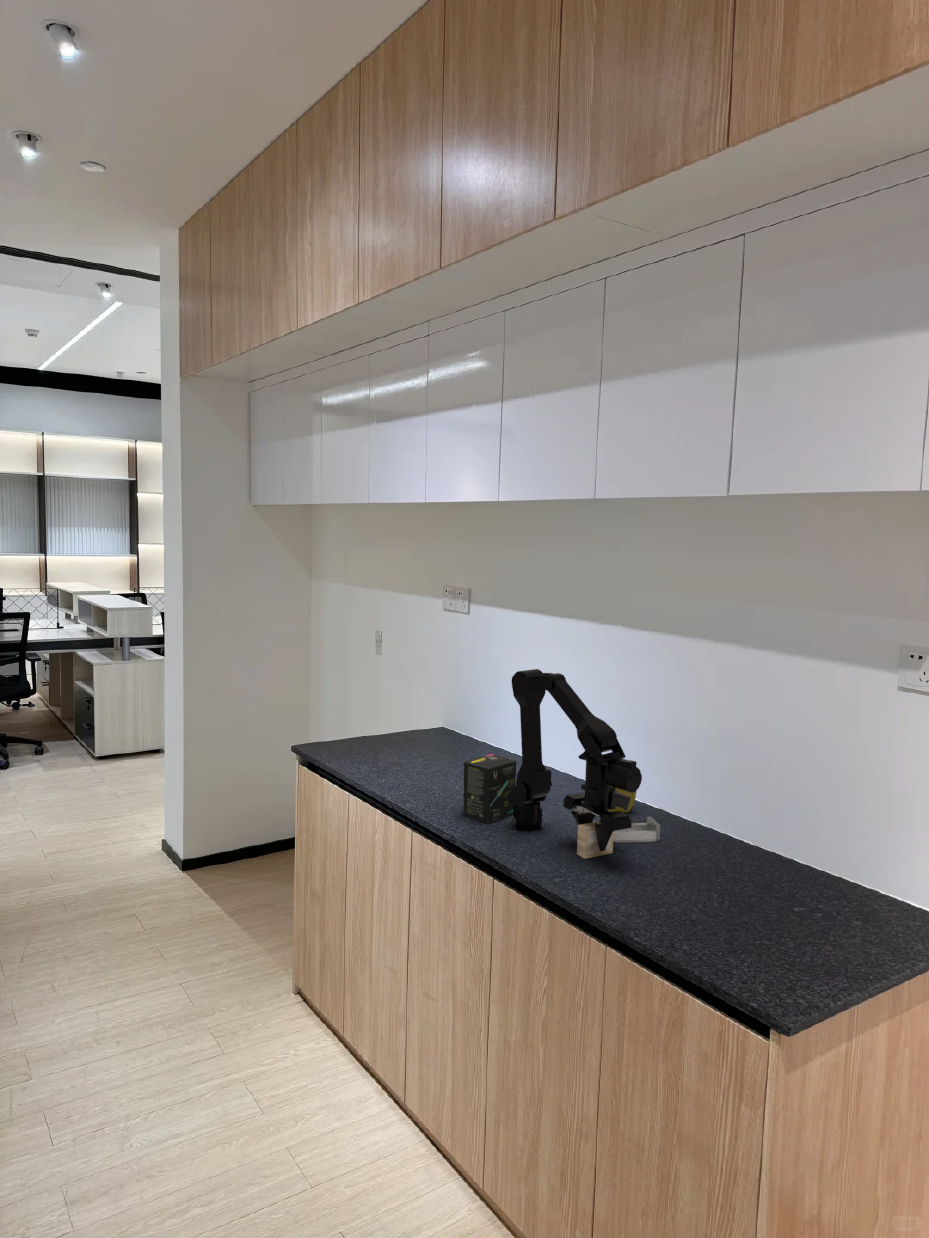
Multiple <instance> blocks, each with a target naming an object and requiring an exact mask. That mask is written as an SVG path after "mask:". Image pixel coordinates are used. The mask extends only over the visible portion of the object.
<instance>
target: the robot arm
mask: <svg viewBox="0 0 929 1238" xmlns="http://www.w3.org/2000/svg"><path fill="white" fill-rule="evenodd" d="M511 689H512V692H513V693H512V694H513V697H514V700H516V702H517V704H518V706H519V715H520V736H521V737H520V738H521V739H520V740H521V761H522V762H521V764H520V767H519V770H518V772H517V773H516V786H515V788H514V789H513V790H511V791H510V792H509V793H508V795H507V796H508V801H509V803H511V804H513V805H514V809H513V815H512V816H513V818H512V819H511V823H512V826H513V827H514V829H515V830H516V831H531V830H533V831H534V830H536V831H537V830H542V824H543V808H542V807H541V804H542V803H541V802H545V801H546V800H547V797H548V795H549V793H550V792H551V787H553V782H552V770H551V769H547V768H546V766H545V765H544V764H543V751H542V749H543V748H542V747H543V745H542V724H541V721H542V720H541V704H542V702H543V699H544V698H545V695H546V691H547V692H548V693H549V694H550V696H551V697H552V698H553V700H554V701H555V702H556V703H557V705H558V706H559V708H560V709H561V710H562V712H564V714H565V715H566V716H567V718H568V719H569V720H570V721H571V723H572V724H573V726H574V727H575V729H576V735H577V736H576V737H577V739H578V741H579V742H580V744H581V746H582V748H583V750H584V751H583V752H582V753H581V754H580V755H579V754H578V759H579V760H583V761H585V780H584V782H585V783H582V784H581V787H580V789H581V790H583V791H584V793H583V792H577V793H570V794H567V795H565V797H564V798H563V804H562V806H563V808H565V809H567V810H568V811H569V810H570V811H571V812H570V813H571V815H572V816H573V818H574V819H575V822H576V824H577V826H578V825H581V824H586V823H592V822H593V819H594V820H595V818H596V816H597V817H598V818H600V820H599V821H600V824H595V830H596V835H597V840H598V845H599V849H600V851H601V852H602V851H605V849H606V846H607V844H608V842H609V839H610V837H611V835H612V833H613V831H617V830H622V829H627V828H631V827H632V823H633V818H632V817H631V816H630V815H629V814H627V813H625V812H621V811H615V812H609V811H608V810H609V809H611V810H613V809H616V807H619V808H623V809H624V810H627V809H628V806H629V803H630V800H631V797H629V796H627V795H624V794H622V793H620V792H617V791H616V788H618V789H621V790H624V791H627V792H631V793H633V792H635V791H636V790H639V788H640V786H641V785H642V780H643V775H642V772H641V770H640V768H639V767H638V766H637V761H635V760H632V759H631V760H629V759H625V758H626V754H625V752H624V749H623V747H622V745H621V744H620V742H619V740H618V735H617V733H616V731H615V730H614V728H612V727H611V726H610V725H609V724H608V723H607V722H606V721H605V720H603V719H601V718H599V717H597V716H595V715H594V714H593V713H592V711H590V709H589V707H587V706H586V704H585V703H584V702H583V701H582V699H581V698H580V697H579V695H578V694H577V693H576V692H575V690H574V689H573V688H572V686H571V685H570V684H569V682H567V679H566V677H565V675H564V674H563V673H560V672H557V673H554V672H553V673H552V672H543V671H542V670H540V669H539V668H534V669H526V670H518V671H516V672H514V674H513V675H512V677H511ZM610 751H611V752H610ZM605 752H607V753H605Z"/></svg>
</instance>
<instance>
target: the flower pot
mask: <svg viewBox="0 0 929 1238" xmlns="http://www.w3.org/2000/svg"><path fill="white" fill-rule="evenodd" d="M637 790H638V789H637ZM637 790H636V791H635V792H633V793H631V792H627V791H624V790H621V789H618V788H616V791H617V792H620V793H622V794H624V795H627V796H629V797H631V800H630V803H629V806H628V809H627V810H624V809H623V808H619V807H616V809H613V810H611V809H609V810H608V812H615V811H621V812H623V813H625V814H627V813H629V812H630V811H631V809H632V807H633V806H634V804H635V802H636V801H635V800H636V797H637V792H638V791H637Z"/></svg>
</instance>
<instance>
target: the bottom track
mask: <svg viewBox="0 0 929 1238" xmlns="http://www.w3.org/2000/svg"><path fill="white" fill-rule="evenodd" d="M593 822H596V821H595V818H594V819H593ZM660 836H661V824H659V823H658V821H656V820H655V818H654V817H652V816H646V822H640V823H639V822H637V823H636V822H635V823H633V822H632V827H631V828H627V829H622V830H617V831H614V833H613V844H620V843H621V844H623V843H653V842H660V841H661V840H660V838H661V837H660Z"/></svg>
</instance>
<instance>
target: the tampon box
mask: <svg viewBox="0 0 929 1238" xmlns="http://www.w3.org/2000/svg"><path fill="white" fill-rule="evenodd" d="M516 780H517V760H516V759H510V758H508V757H504V756H501V755H497V754H493V753H489V754H487V755H482V756H479V757H476V758H472V759H468V760H464V761H463V813H462V814H463V816H466V817H468V818H471V819H474V820H476V821H477V820H478V821H480V822H482V823H485V824H487V825H489V824H492V823H494V822H497V821H499V820H503V819H505V818H508V817H510V816H513V809H514V805H513V804H511V803H509V801H508V796H507V795H508V793H509V792H510V791H511V790H513V789H514V788H515V787H516Z"/></svg>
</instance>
